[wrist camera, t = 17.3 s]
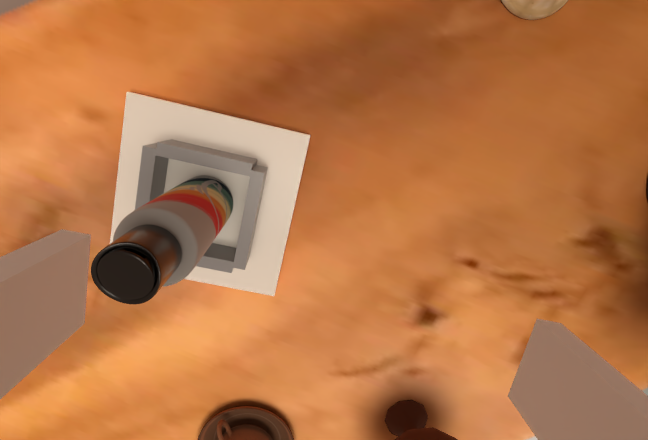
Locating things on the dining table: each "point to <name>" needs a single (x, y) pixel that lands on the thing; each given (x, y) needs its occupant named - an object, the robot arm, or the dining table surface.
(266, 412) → the cup and saucer
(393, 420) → the ice cream bowl
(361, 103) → the dining table surface
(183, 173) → the bottle holder
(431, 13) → the dining table surface
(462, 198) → the dining table surface
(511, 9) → the hand bell
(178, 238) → the lotion bottle
